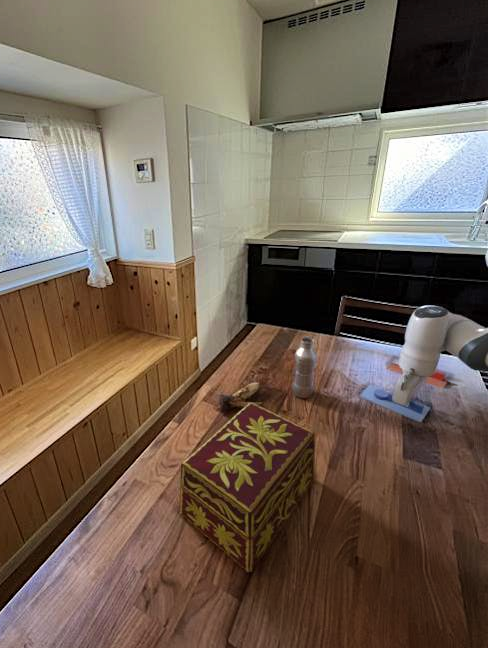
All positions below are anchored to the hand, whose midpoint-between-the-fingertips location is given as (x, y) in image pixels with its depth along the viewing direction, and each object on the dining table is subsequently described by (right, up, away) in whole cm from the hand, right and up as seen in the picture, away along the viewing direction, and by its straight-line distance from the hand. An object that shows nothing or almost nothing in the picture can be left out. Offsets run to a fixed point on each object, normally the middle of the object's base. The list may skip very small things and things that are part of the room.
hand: (407, 402), depth 99 cm
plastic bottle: (-28, 0, +10) cm, 30 cm away
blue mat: (-2, -1, +3) cm, 4 cm away
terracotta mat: (+14, +6, +16) cm, 22 cm away
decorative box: (-51, -16, -22) cm, 58 cm away
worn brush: (-47, -2, +7) cm, 48 cm away
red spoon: (+14, +7, +16) cm, 22 cm away
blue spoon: (-2, 0, +3) cm, 4 cm away
